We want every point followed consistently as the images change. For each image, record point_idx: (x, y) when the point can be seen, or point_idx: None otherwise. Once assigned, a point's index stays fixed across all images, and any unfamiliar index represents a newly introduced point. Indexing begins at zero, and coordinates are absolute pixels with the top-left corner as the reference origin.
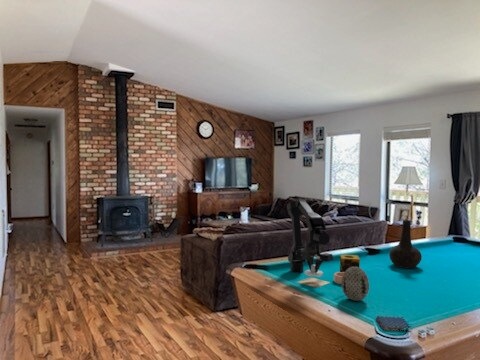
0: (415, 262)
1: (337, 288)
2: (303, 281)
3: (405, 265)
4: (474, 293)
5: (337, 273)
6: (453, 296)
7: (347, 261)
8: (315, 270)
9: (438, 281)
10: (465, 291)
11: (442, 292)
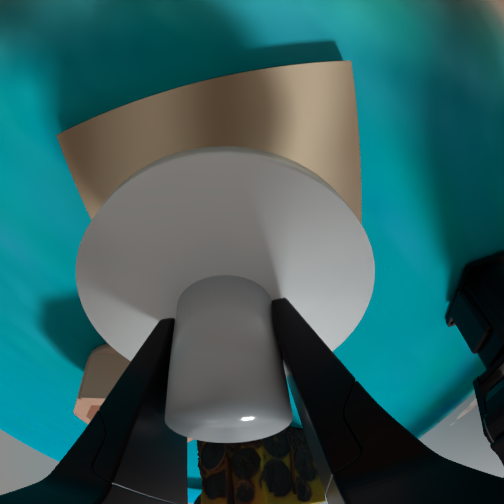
0: (194, 502)
1: (52, 295)
2: (313, 141)
3: None
4: (30, 446)
5: None
6: (7, 426)
7: (242, 496)
8: (163, 337)
9: None
10: (39, 449)
11: (29, 436)
